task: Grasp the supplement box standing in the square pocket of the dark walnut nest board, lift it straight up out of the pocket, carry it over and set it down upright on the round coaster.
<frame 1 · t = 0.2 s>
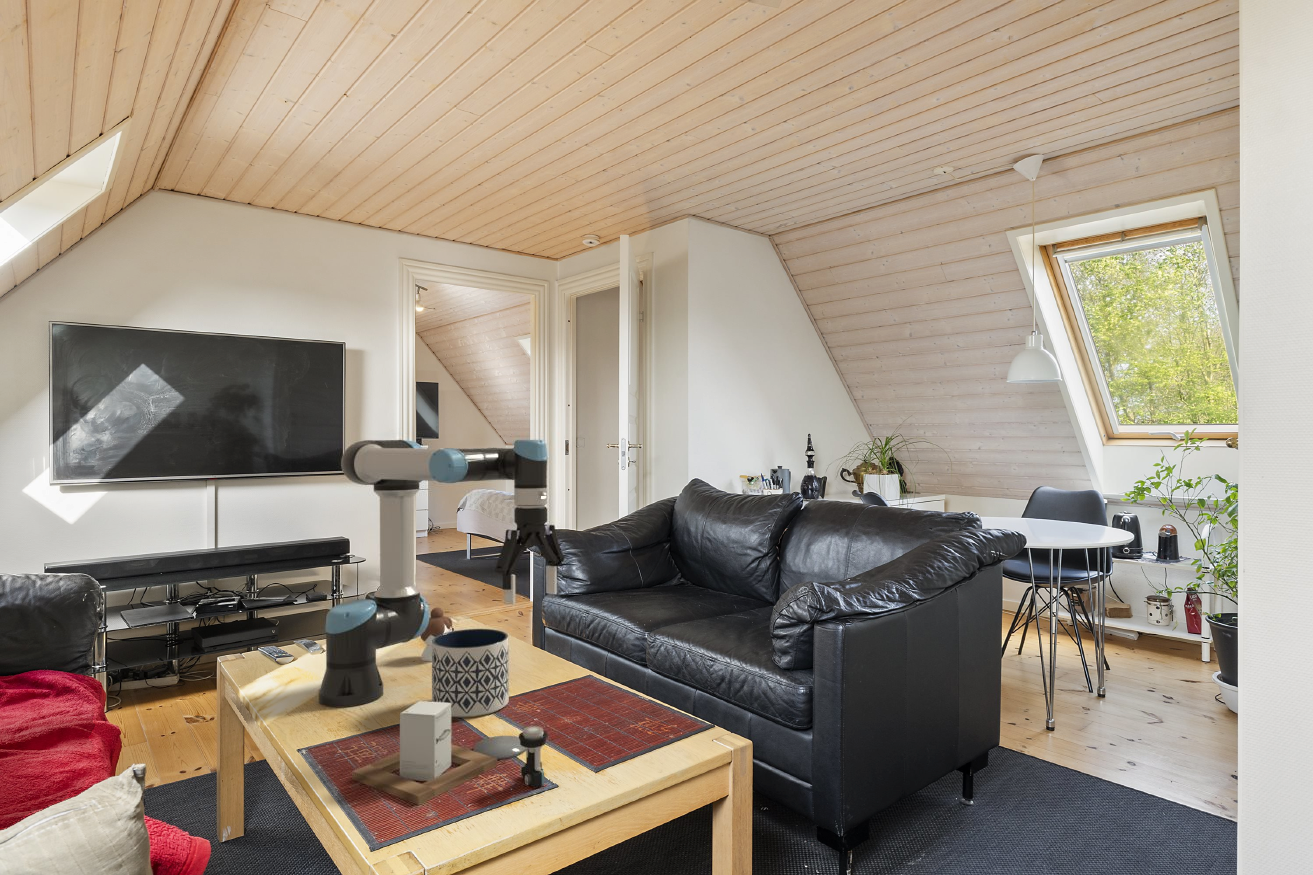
hand: (531, 598, 174), 28 cm above the table, fingers open, 13 cm apart
coaster: (500, 748, 157), on the table
nest board: (426, 772, 146), on the table
planter: (470, 706, 183), on the table
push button: (531, 782, 142), on the table
supplement box: (426, 773, 146), resting in nest board
figurine: (437, 658, 224), on the table
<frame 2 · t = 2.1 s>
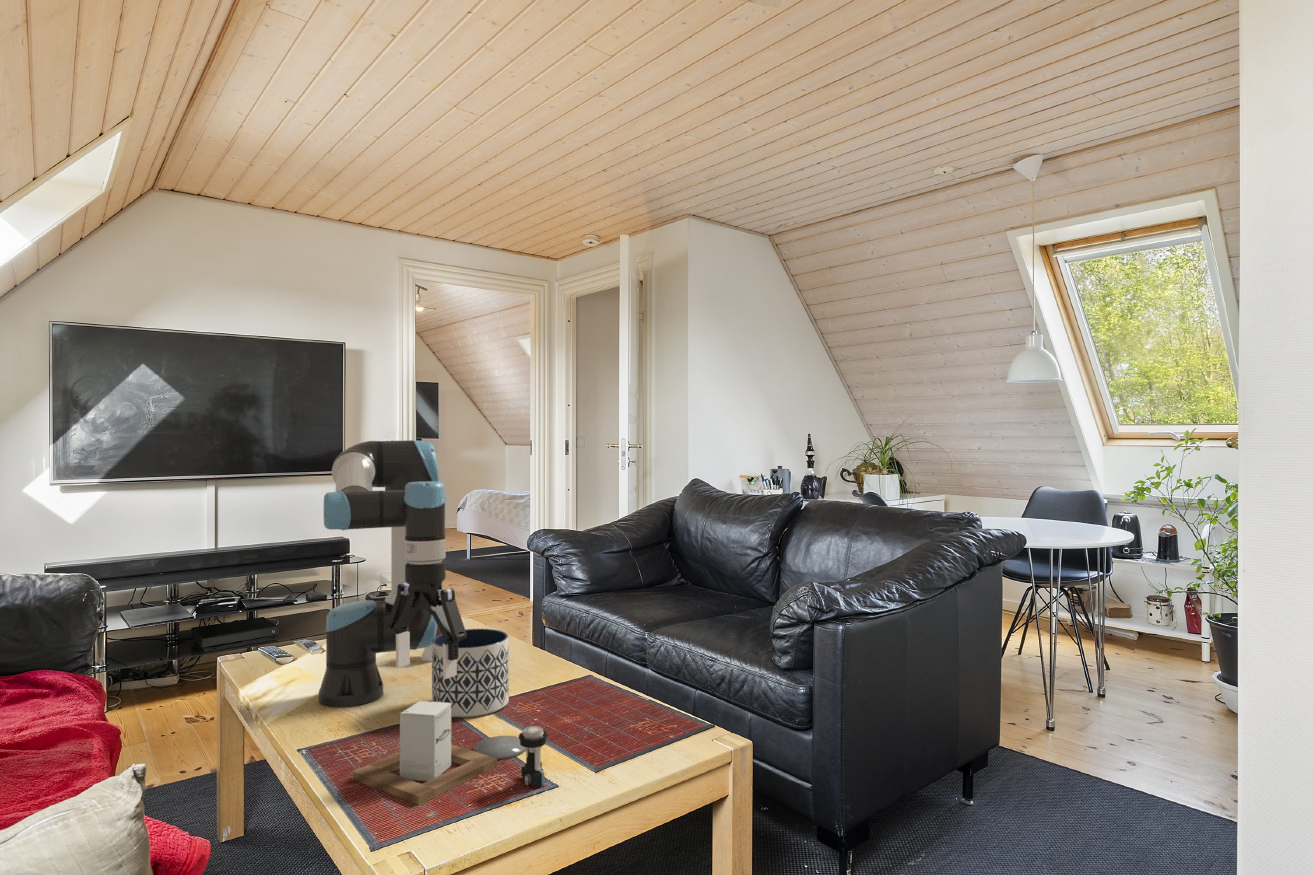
hand: (425, 671, 146), 20 cm above the table, fingers open, 13 cm apart
nothing on the table moved.
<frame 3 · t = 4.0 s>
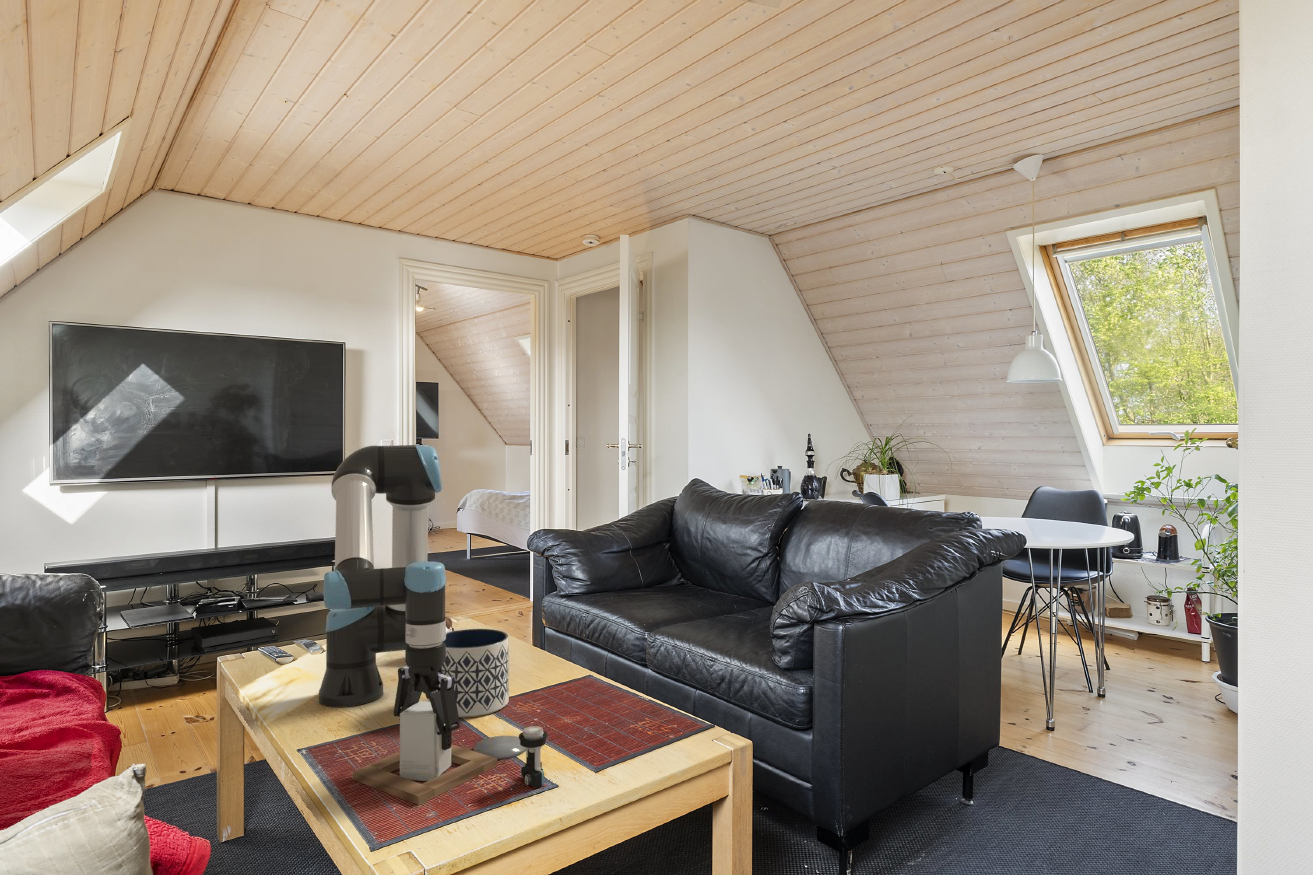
hand: (426, 759, 146), 3 cm above the table, fingers closed on supplement box, 9 cm apart
supplement box: (426, 773, 146), resting in nest board, touching gripper
everything else where it was.
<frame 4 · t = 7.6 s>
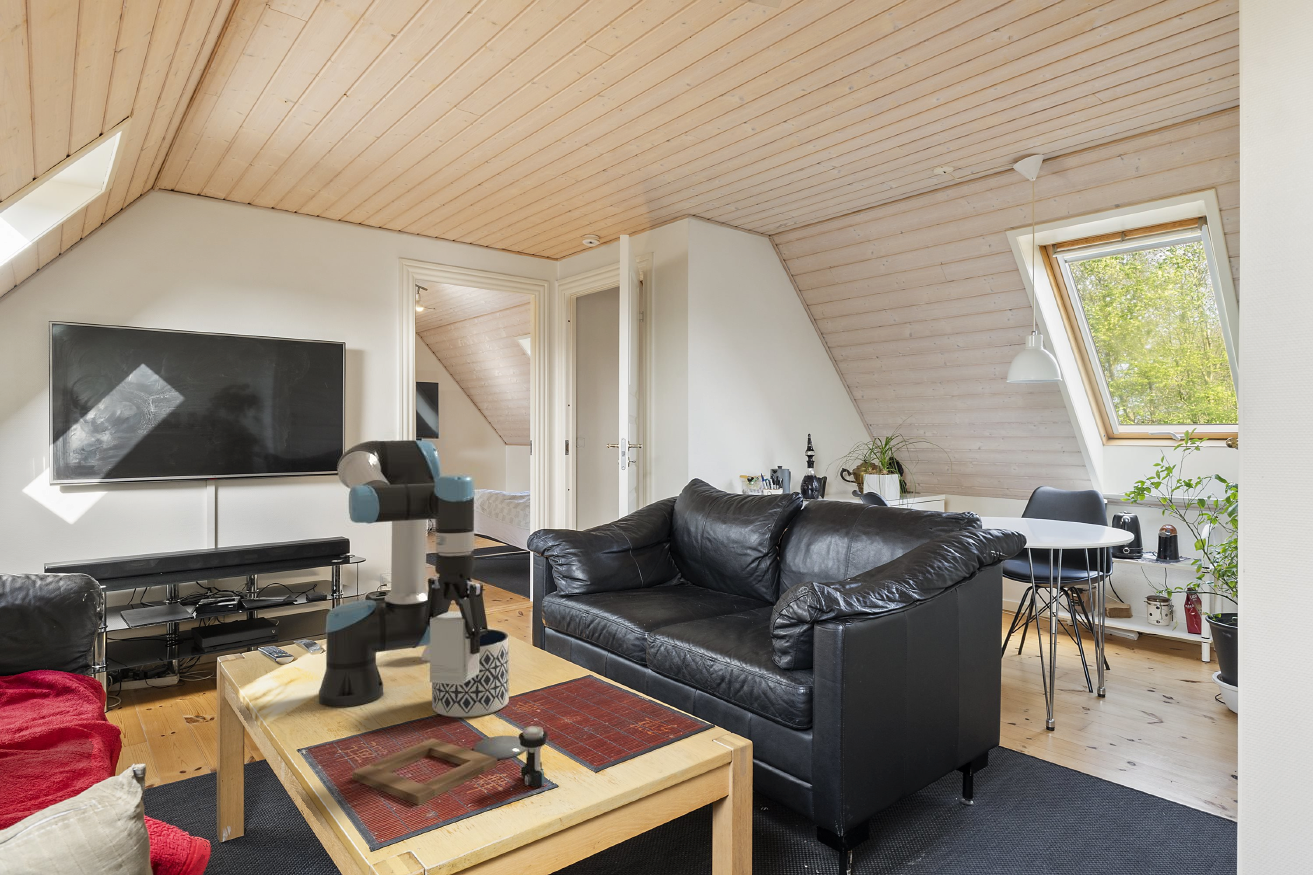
hand: (455, 665, 150), 19 cm above the table, fingers closed on supplement box, 9 cm apart
supplement box: (455, 679, 150), point 17 cm above the table, touching gripper
everything else where it was.
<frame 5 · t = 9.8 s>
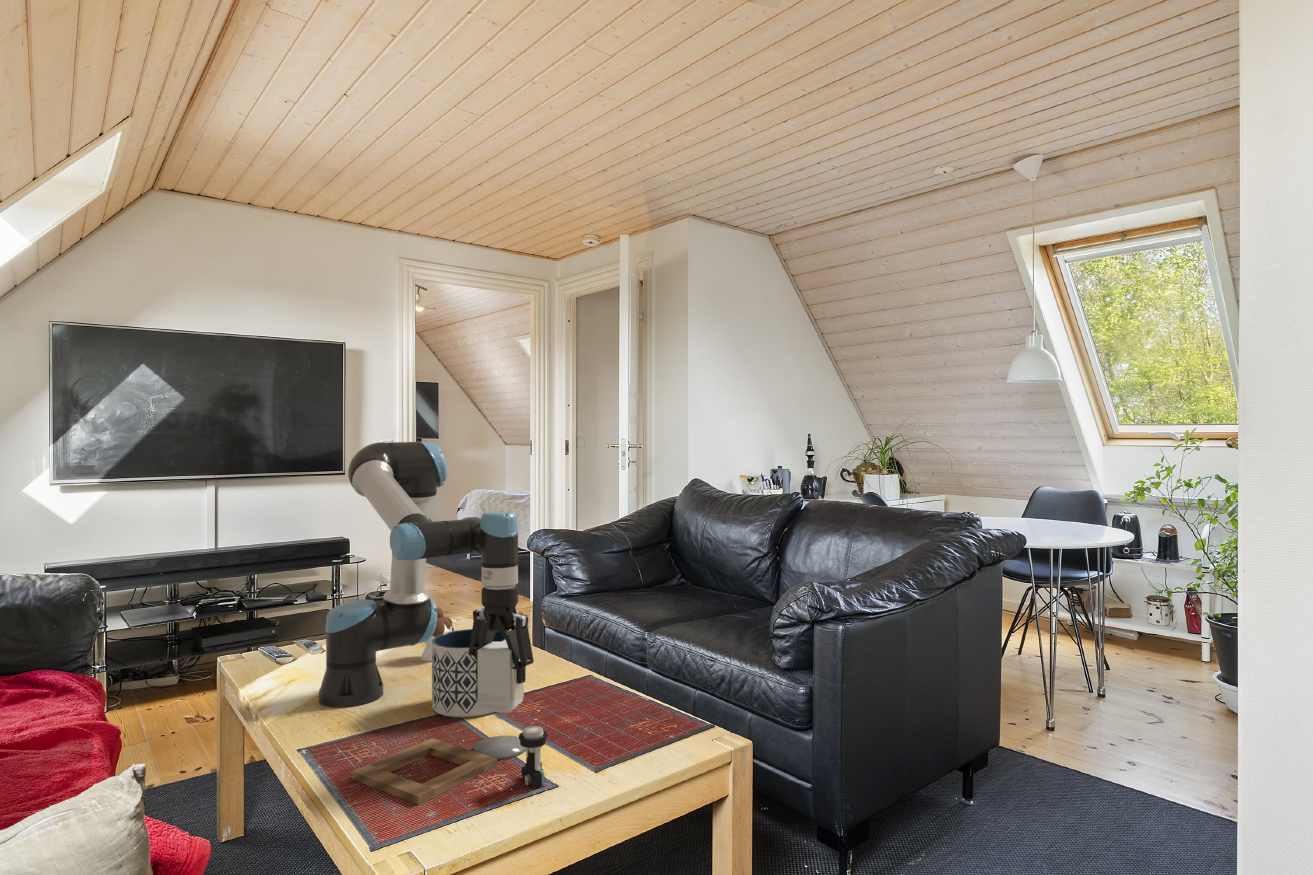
hand: (500, 694, 157), 11 cm above the table, fingers closed on supplement box, 9 cm apart
supplement box: (500, 707, 157), point 9 cm above the table, touching gripper
everything else where it was.
when the fingers open (4 cm above the table, at t = 11.5 s): supplement box drops 1 cm, resting on coaster.
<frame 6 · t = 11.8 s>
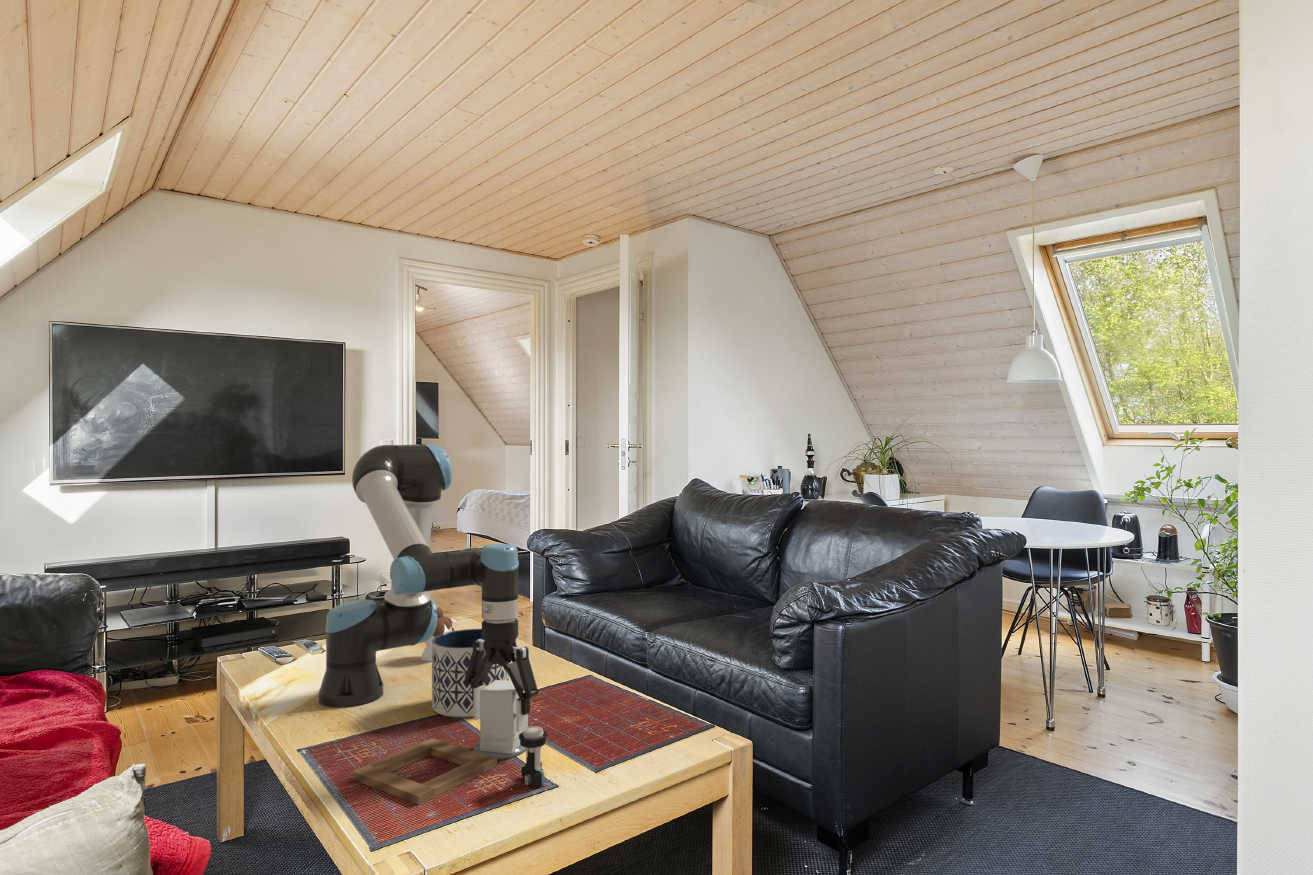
hand: (500, 723, 157), 5 cm above the table, fingers open, 11 cm apart
supplement box: (503, 747, 157), resting on coaster
everything else where it was.
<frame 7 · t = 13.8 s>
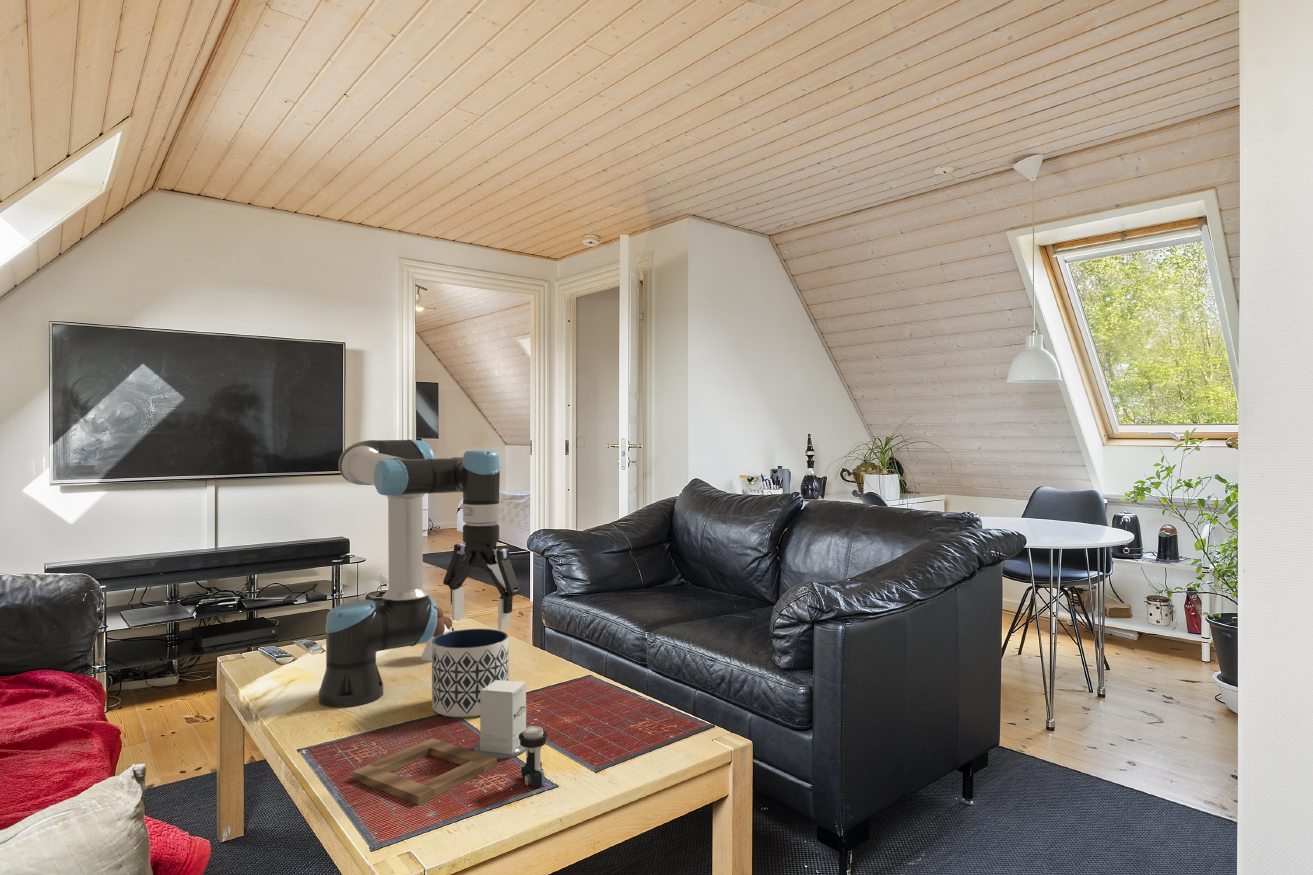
hand: (480, 623, 159), 26 cm above the table, fingers open, 13 cm apart
nothing on the table moved.
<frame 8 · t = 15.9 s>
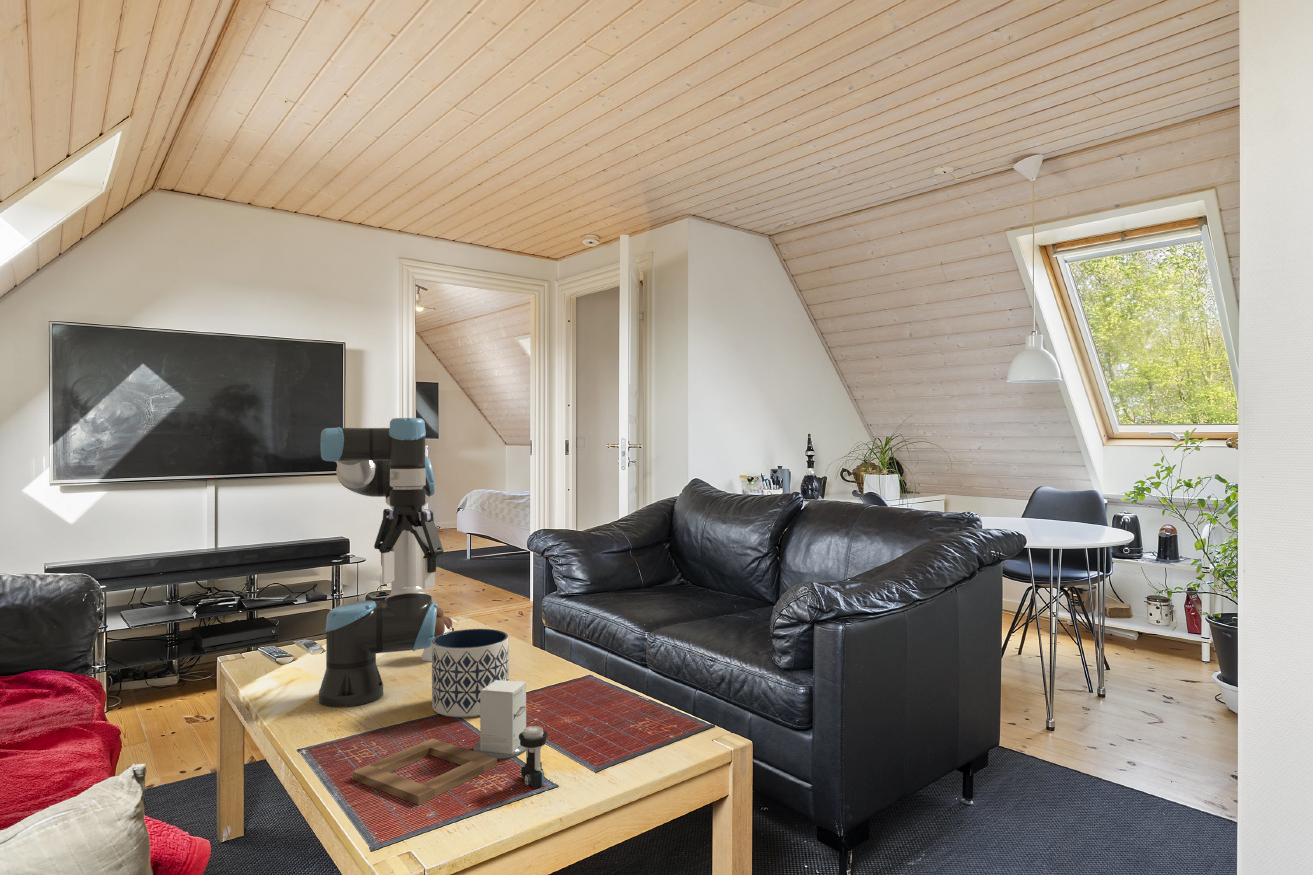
hand: (408, 584, 166), 33 cm above the table, fingers open, 13 cm apart
nothing on the table moved.
at the end: supplement box 0.7 cm from the coaster (horizontally); supplement box tilted 0°; supplement box resting on coaster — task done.
